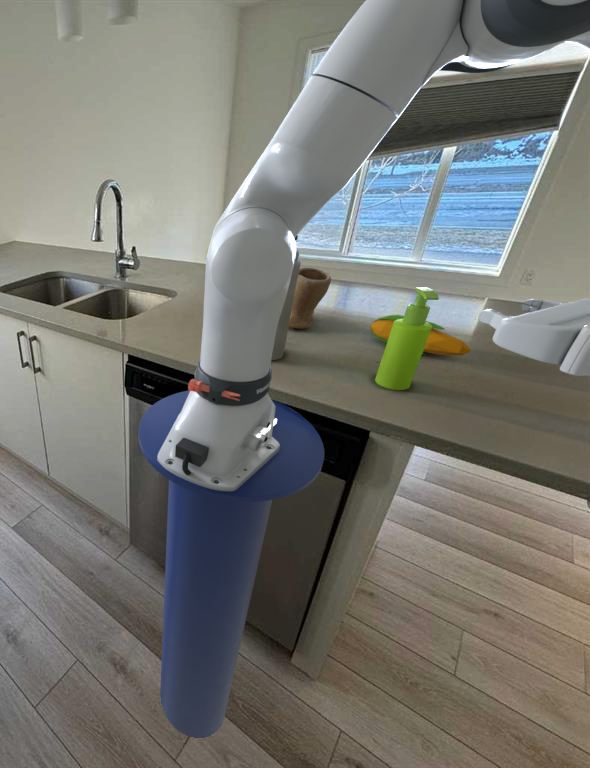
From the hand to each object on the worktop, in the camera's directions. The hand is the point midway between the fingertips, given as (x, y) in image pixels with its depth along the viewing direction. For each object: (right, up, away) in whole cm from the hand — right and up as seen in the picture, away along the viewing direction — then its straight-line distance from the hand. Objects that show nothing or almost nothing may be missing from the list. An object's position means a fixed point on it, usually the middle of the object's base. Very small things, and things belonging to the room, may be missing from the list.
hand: (504, 309), depth 63 cm
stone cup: (-5, +6, +51) cm, 52 cm away
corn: (+12, -4, +32) cm, 34 cm away
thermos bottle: (-21, -4, +36) cm, 42 cm away
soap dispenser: (-2, -12, +20) cm, 24 cm away
